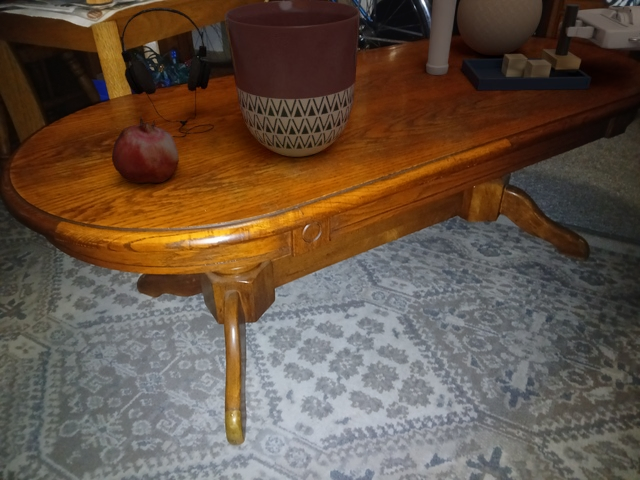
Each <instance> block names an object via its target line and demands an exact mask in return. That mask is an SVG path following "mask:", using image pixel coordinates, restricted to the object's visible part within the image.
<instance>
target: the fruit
mask: <svg viewBox="0 0 640 480" xmlns="http://www.w3.org/2000/svg"><path fill="white" fill-rule="evenodd" d="M155 125H156V120H153V121H152V124H151V123H149V122H147V121H146V122H144V117H143V116H140V118H139V124H132V125H129V126H127V127H125V128H123V130H121V132H120V133H119V135H118V136H117V138H116V140H115V142H114V144H113V148H112V152H111V153H112V154H111V161H112V165H113V166H114V168H115V170H116V172H117V173H118V174H119V175H120V177H122V178H123V179H124V180H126V181H128V182H130V183H133V184H141V183H142V184H143V183H147V184H148V183H149V184H160V183H163V182H165V181H167V180H168V179H170V177H172V175H173V174H174V173H175V172H176V170H177V169H178V165H179V162H180V157H179V152H178V148H177V145H176V143H175V140H174V137H172V136H173V135H172V134H171V133H170V132H168V130H165V129H163V128H161V127H159V126H155Z"/></svg>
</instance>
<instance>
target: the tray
mask: <svg viewBox="0 0 640 480" xmlns="http://www.w3.org/2000/svg"><path fill="white" fill-rule="evenodd" d="M526 58H527V60H542V59H541V57H526ZM502 64H503V58H462V61H461V68H460V70H461V71H462V72H463V74H464V76H465V77H466V78H467V79H468V81H469V82H470V83H471V84H472V86H473V87H474V88H475V89H476V91H477V92H479V91H480V92H481V91H484V92H485V91H554V90H555V91H556V90H557V91H558V90H559V91H560V90H589V87H590V85H591V81H592V76H590V75H588V74H587V73H586V72H584V71H583V70H582V69H580V68H579V69H577V72H576V73H555V72H553V71H552V70H550V74H549V77H506V76H505V75H504V74H503V73H502V72H501V69H502Z"/></svg>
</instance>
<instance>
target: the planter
mask: <svg viewBox="0 0 640 480" xmlns="http://www.w3.org/2000/svg"><path fill="white" fill-rule="evenodd" d="M224 22H225V23H224V24H225V29H226V36H227V41H228V48H229V52H230V53H229V54H230V59H231V65H232V72H233V78H234V84H235V90H236V96H237V101H238V105H239V110H240V112H241V115H242V119H243V121H244V123H245V125H246V127H247V129H248V131H249V133H251V135H252V137H254V139H255V140H256V141H257V142H258V143H260V144H261V145H262V146H264V147H265V148H266V149H268V150H269V151H271V152H273V153H276V154H277V155H281V156H284V157H293V158H294V157H295V158H296V157H297V158H298V157H306V156H312V155H315V154H318V153H320V152H323V151H324V150H326V149H327V148H328V147H330V146H331V145H332V144H333V143H334V142H336V141H337V140H338V138H340V136H341V135H342V133H343V132H344V130H345V129H346V127H347V125H348V123H349V120H350V117H351V114H352V110H353V106H354V99H355V89H356V88H355V87H356V78H357V64H358V50H359V40H360V39H359V38H360V30H361V29H360V27H361V11H360V9H359V8H358V7H356V6H353V5H351V4H347V3H342V2H336V1H327V0H273V1H272V0H271V1H261V2H255V3H250V4H249V3H248V4H244V5H240V6H236V7H233V8H231V9H229V10H228V11H226V13H224Z"/></svg>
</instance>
